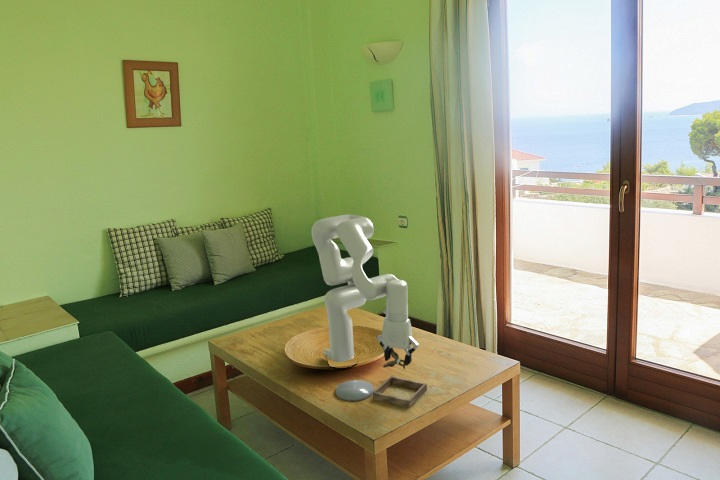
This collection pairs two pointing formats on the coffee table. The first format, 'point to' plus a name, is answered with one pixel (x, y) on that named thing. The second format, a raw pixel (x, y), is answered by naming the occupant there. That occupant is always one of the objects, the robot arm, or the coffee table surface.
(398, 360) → the eagle figurine
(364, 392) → the grey round plate
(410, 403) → the walnut frame
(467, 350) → the coffee table surface
